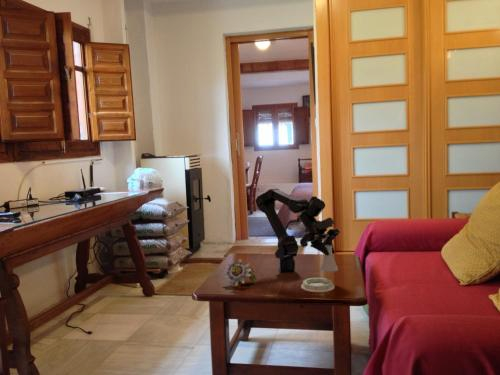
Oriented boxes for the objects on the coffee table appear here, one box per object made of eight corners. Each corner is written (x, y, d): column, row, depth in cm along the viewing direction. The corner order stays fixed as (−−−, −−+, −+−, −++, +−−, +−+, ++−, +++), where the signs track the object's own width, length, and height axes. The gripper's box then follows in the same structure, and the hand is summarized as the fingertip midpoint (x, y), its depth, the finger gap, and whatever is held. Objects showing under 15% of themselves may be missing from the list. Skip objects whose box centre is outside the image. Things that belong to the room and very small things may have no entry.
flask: (335, 267, 178) (334, 243, 177) (340, 271, 171) (340, 247, 170) (318, 268, 177) (317, 244, 176) (322, 273, 170) (322, 248, 169)
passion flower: (237, 298, 176) (219, 277, 174) (240, 285, 186) (223, 265, 184) (259, 284, 173) (240, 262, 171) (261, 272, 183) (244, 251, 181)
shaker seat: (305, 293, 163) (305, 287, 163) (298, 283, 176) (298, 278, 176) (338, 291, 165) (338, 285, 164) (329, 281, 177) (329, 276, 177)
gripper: (304, 214, 169) (325, 246, 161) (336, 209, 181) (357, 238, 173) (291, 231, 176) (310, 262, 168) (322, 225, 187) (342, 254, 180)
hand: (331, 254), depth 172 cm, fingers closed on flask, 3 cm apart
